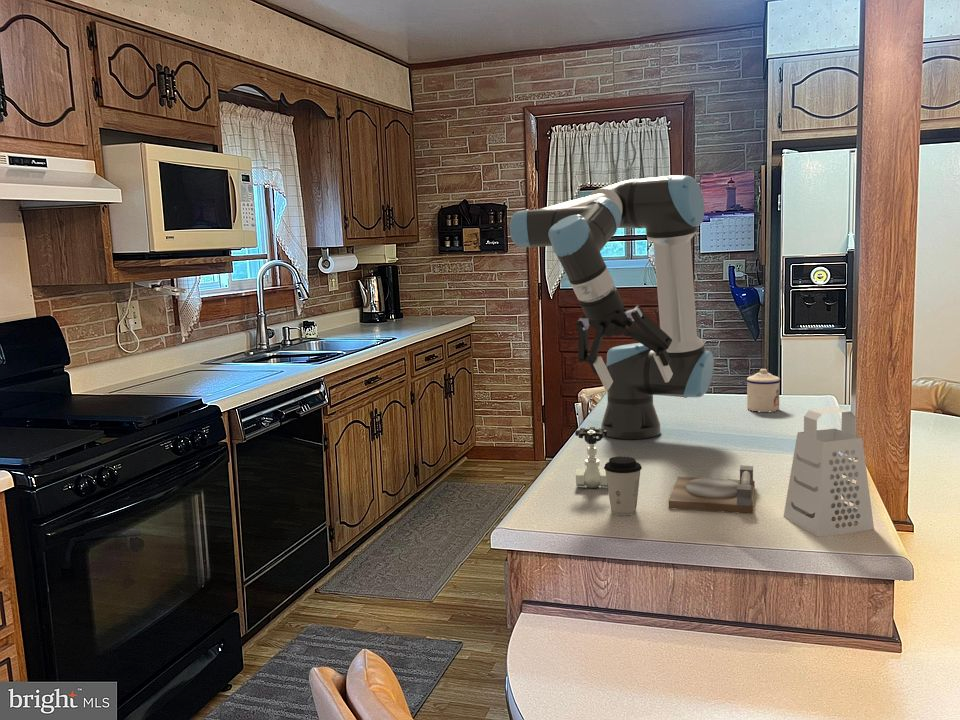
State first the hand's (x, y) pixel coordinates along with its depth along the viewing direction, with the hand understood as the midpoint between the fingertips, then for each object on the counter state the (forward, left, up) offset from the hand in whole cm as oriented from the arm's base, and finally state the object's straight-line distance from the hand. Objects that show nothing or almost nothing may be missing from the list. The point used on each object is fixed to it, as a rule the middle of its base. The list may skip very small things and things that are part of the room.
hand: (638, 382), depth 166 cm
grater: (+15, +35, -22) cm, 44 cm away
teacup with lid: (-80, +23, -22) cm, 86 cm away
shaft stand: (+5, +15, -22) cm, 27 cm away
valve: (+3, -9, -22) cm, 24 cm away
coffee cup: (+16, -1, -22) cm, 27 cm away
